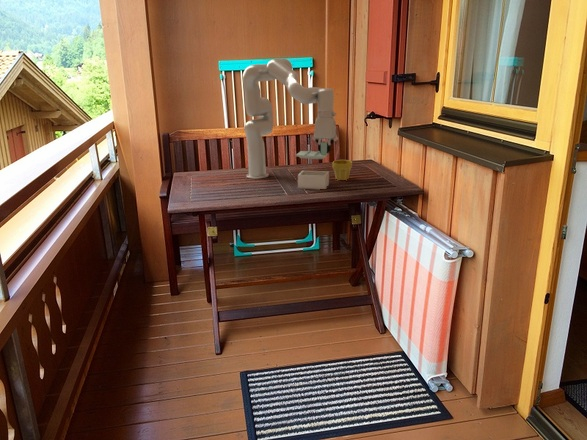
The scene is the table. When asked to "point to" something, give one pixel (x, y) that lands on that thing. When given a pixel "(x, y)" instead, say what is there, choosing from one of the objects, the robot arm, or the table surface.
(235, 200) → the table surface
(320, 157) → the lid
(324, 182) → the tub
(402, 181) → the table surface
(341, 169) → the plant pot
